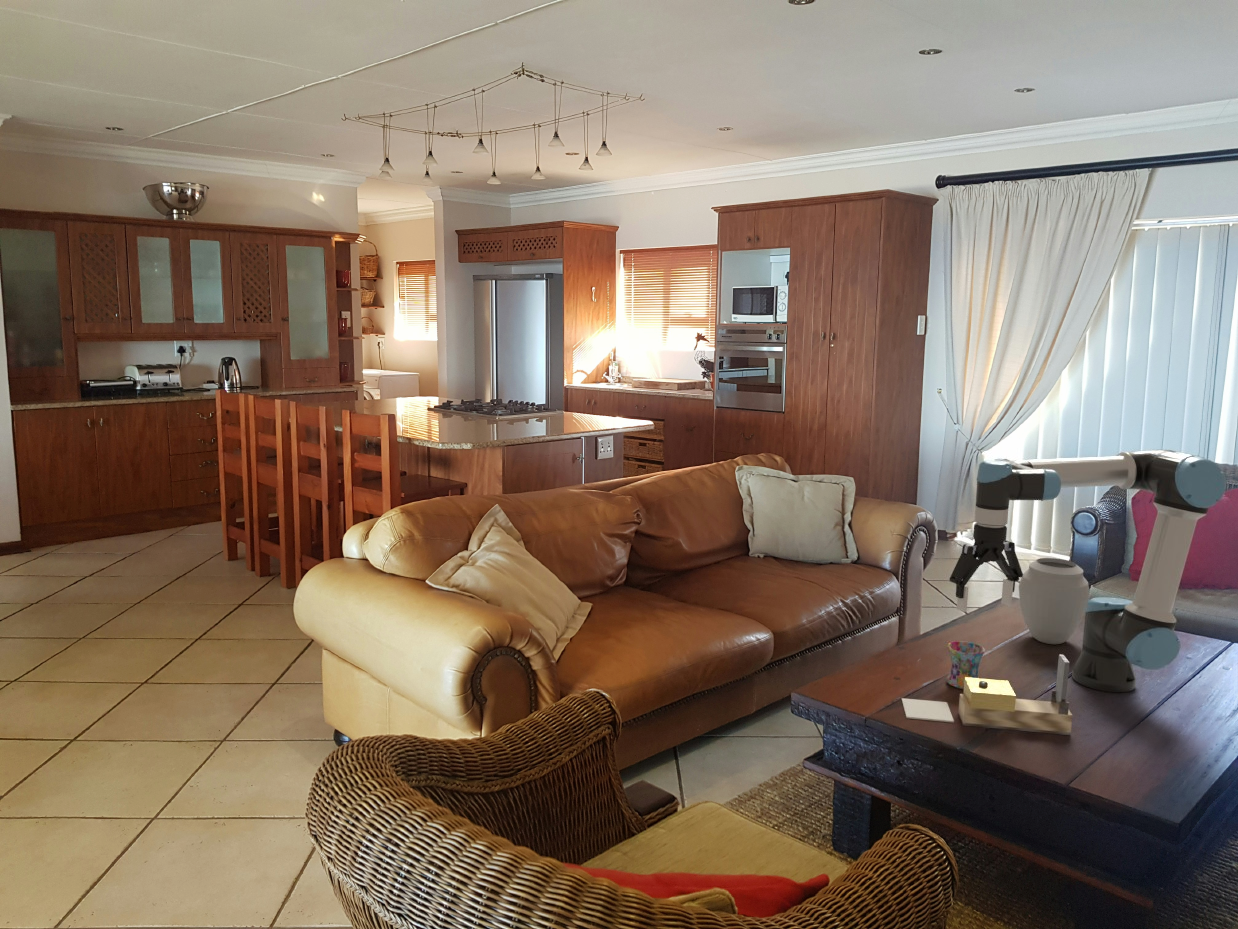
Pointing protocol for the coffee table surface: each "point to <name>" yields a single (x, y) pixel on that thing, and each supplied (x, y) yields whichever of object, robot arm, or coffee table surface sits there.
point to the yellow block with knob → (989, 694)
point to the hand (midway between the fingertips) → (984, 607)
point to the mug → (964, 662)
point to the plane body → (1021, 716)
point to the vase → (1053, 599)
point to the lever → (1062, 679)
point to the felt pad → (927, 710)
